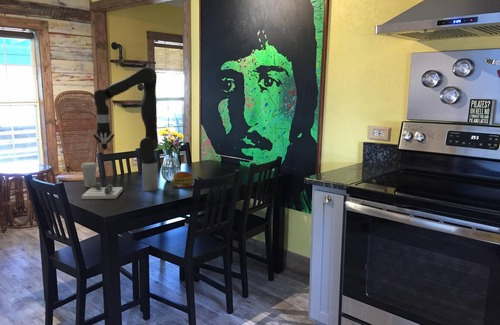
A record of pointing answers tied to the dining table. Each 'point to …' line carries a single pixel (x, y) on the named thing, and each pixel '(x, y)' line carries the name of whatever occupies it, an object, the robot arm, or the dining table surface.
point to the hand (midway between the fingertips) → (104, 149)
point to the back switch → (98, 185)
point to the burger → (182, 180)
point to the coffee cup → (89, 174)
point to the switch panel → (102, 193)
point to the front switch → (107, 190)
